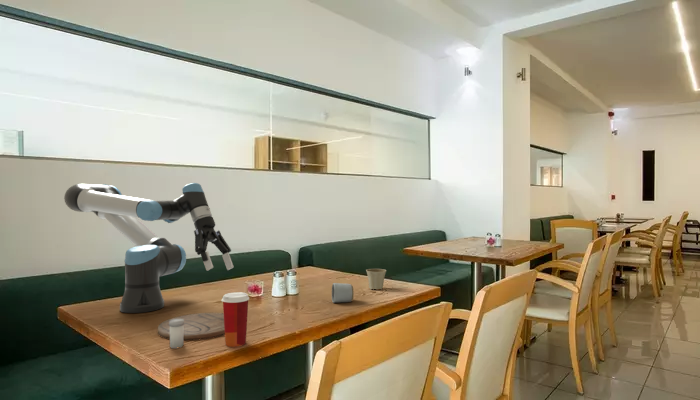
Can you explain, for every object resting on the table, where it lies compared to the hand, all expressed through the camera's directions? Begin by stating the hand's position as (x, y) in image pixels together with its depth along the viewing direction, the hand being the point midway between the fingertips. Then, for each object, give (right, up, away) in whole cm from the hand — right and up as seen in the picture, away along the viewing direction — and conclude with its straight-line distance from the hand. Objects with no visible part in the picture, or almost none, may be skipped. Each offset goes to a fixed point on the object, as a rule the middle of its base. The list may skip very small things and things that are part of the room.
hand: (220, 269), depth 164 cm
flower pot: (+62, -15, +33) cm, 72 cm away
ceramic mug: (+46, -15, +10) cm, 49 cm away
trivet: (+1, -15, -26) cm, 30 cm away
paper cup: (+17, -15, -42) cm, 47 cm away
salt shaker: (+1, -15, -44) cm, 46 cm away
